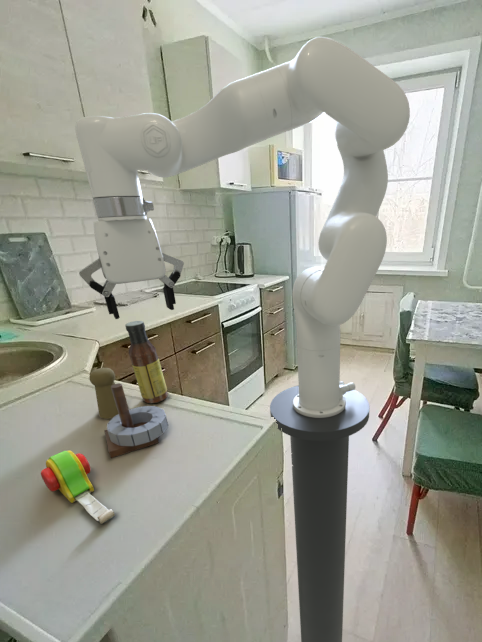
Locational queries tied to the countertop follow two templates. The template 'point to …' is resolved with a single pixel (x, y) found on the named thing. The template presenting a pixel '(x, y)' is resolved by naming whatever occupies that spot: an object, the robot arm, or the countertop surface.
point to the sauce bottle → (146, 364)
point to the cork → (104, 391)
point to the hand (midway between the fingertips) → (144, 312)
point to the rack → (124, 424)
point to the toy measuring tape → (74, 482)
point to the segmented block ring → (141, 433)
